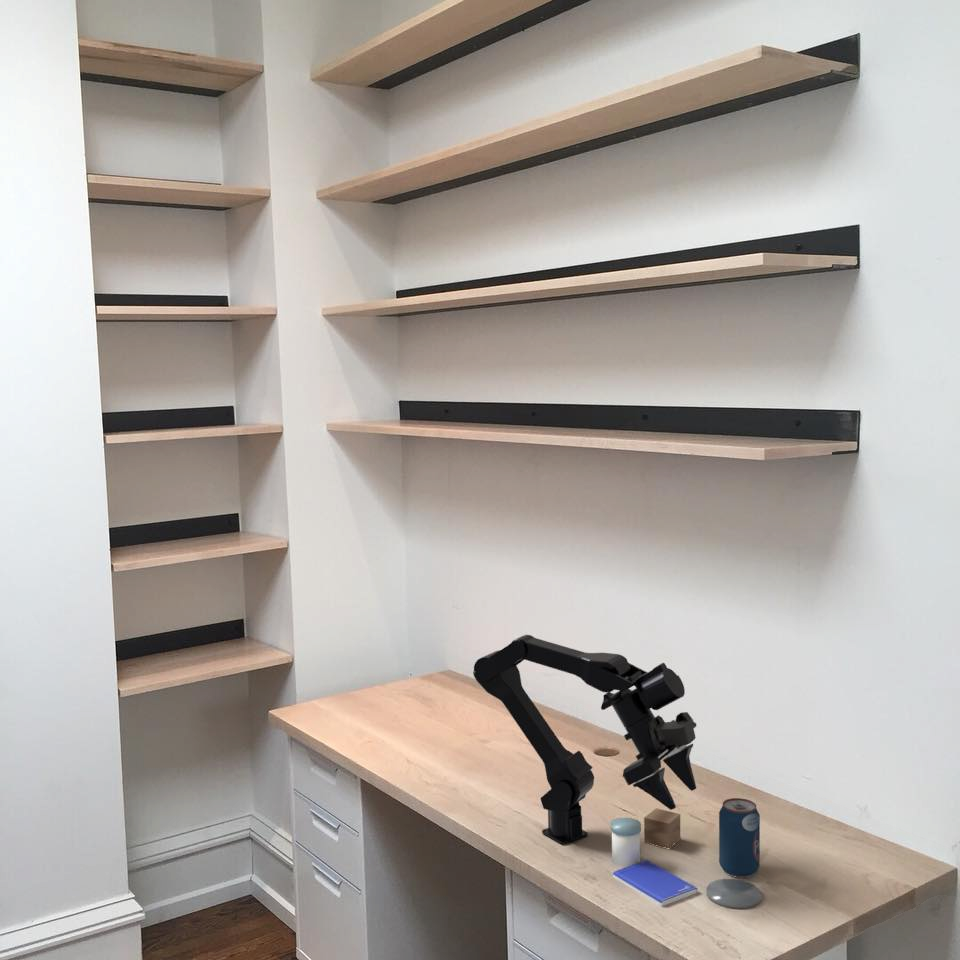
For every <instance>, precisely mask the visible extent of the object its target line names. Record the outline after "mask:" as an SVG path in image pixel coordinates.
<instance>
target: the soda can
mask: <svg viewBox="0 0 960 960" xmlns="http://www.w3.org/2000/svg"><path fill="white" fill-rule="evenodd" d="M760 818H761V815H760V812H759V811H758V809H757V804H756V803H755V802H754V801H752V800H749V799H745V798H739V797H738V798H737V797H733V798H727V799H725V800H724V801H723V802H722V806H721V808H720V810H719V813H718V863H719V865H720V867H721V869H722V871H723V873H725V874H726V873H727V875H728V874H729V875H728V876H730V875H731V876H730V877H733V876H736V877H735V878H738V877H746V878H748V877H747V876H751V877H752V875H753V874H754V875H755V874H756V873H757V871H758V870H759V868H760V865H761V864H760V863H761V862H760V861H761V860H760V857H761V856H760V853H761V851H760V841H761V838H760V837H761V836H760V835H761V832H760V830H761V829H760V828H761V825H760V824H761V823H760V821H761V820H760ZM754 875H753V876H754Z"/></svg>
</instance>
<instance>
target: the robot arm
mask: <svg viewBox="0 0 960 960" xmlns="http://www.w3.org/2000/svg"><path fill="white" fill-rule="evenodd" d="M524 660H525V661H528V662H531V663H534V664H537V665H541V666H544V667H547V668H551V669H554V670H558V671H560V672H564V673H566V674H567V673H568V674H570V675H574V676H576V677H577V678H579V679H581V680H582V681H583V682H584V683H585V684H586V685H587V686H590V687H591V688H594V689H596V690H597V691H599V692H602V693H604V694H603V696H602V697H603V700H602V703H601V706H600V709H601V710H602V711H604V710H606V709H608V708H610V707H612V708H613V710H614V712H615V713H616V716H617V717H618V718H619V720H620V722H621V724H622V725H623V726H622V727H623V728H624V729H625V730H626V734H624V735H623V737H624V738H625V740H626V741H628V740H631V741H632V743H633V744H634V747H635V748H636V750H637V752H638V754H637V755H635V758H636V759H637V760H634V761H633V762H631V763H630V764H629V765H628V766H626V767H625V768H624V769H623V772H622V777H623V779H624V780H625V783H626V784H627V786H631V785H632V786H633V788H638V789H639V790H641V791H643V792H644V793H646V794H649V796H651V797H652V798H654V799H655V800H656V801H658V802H660V803H661V804H662V805H663V806H665V807H666V808H667V809H669V810H670V811H671V810H674V809H676V807H677V805H676V803H675V801H674V798H673V796H672V794H671V791H670V790H669V787H668V786H667V784H666V781H665V778H664V775H665V770H666V769H665V768H666V767H662V762H661V761H663V762H664V764H665V765H666V766H667V767H668V768H669V769H670V770H671V771H672V772H673V773H674V775H675V776H677V778H678V779H679V780H680V781H681V782H682V783H683V784H684V785H685V787H686V788H687V789H689V790H690V791H691V792H692V791H694V790H697V785H696V784H697V783H696V781H695V777H694V773H693V768H692V765H691V760H690V755H691V751H692V749H693V747H694V743H692V742H694V741H695V739H696V738H697V737H696V733H695V730H694V729H695V728H696V727H697V722H695V721H694V719H693V717H691V715H690V714H689V712H688V711H683V712H680V713H678V714H677V715H676V716H675V719H672V720H670V721H666V722H665V720H664V718H663V717H662V716H660V715H659V714H658V715H656V716H655V715H654V713H653V711H652V710H654V711H659V710H661V709H663V708H665V707H667V706H668V705H670V704H672V703H674V702H676V701H677V700H679V699H681V698H683V697H685V696H684V695H685V693H686V691H685V685H684V683H683V681H682V679H681V677H680V675H678V674H677V673H676V672H675V671H674V670H673V669H671V668H669V667H667V664H666V663H665V662H662V663H659V664H658V665H657V666H655V667H654V668H653V669H652V670H649V671H646V670H643V669H641V668H640V667H637V666H636V665H634V664H631V663H630V662H628V659H627V658H626V656H624V655H622V654H619V653H610V652H585V651H581V650H577V649H574V648H570V647H567V646H564V645H560V644H557V643H554V642H551V641H547V640H543V639H541V638H537V637H535V636H533V635H530V634H524V635H521V636H520V637H518V638H515V639H513V640H512V641H511V642H510V643H509V644H508V645H506V646H505V647H504V648H502V649H499V650H496V651H493V652H491V653H488V654H487V655H484V656H482V657H480V658H479V659H477V660H476V661H475V662H474V665H473V672H472V674H473V677H474V679H475V681H476V682H477V683H478V685H480V686H481V687H482V688H483V690H484V691H485V692H486V693H488V694H489V695H491V696H492V697H494V698H496V699H497V700H499V701H500V702H501V703H502V704H503V705H504V708H505V709H506V711H508V713H509V714H510V716H511V718H512V719H513V721H514V722H515V723H516V725H517V726H518V727H519V729H520V730H521V732H522V733H523V735H524V736H525V738H526V739H527V740H528V742H529V743H530V745H531V746H532V748H533V749H534V751H535V752H536V753H537V755H538V756H539V758H540V760H541V762H543V764H544V771H545V775H546V780H547V783H548V785H549V786H550V789H549V790H547V792H546V793H545V794H543V795H542V796H541V797H540V801H541V805H542V808H543V809H544V810H547V821H548V822H547V826H548V827H547V828H544V829H542V830H541V833H542V835H545V836H546V837H548V838H550V839H552V840H553V841H555V842H558V843H559V844H561V845H565V844H568V843H571V842H574V841H576V840H580V839H583V838H585V837H588V835H589V833H588V832H587V831H585V830H584V829H583V815H582V805H580V802H581V800H583V799H585V798H586V796H587V794H588V793H589V792H590V791H591V790H592V788H593V787H594V784H595V783H594V781H595V775H594V773H593V771H592V769H593V766H592V765H591V764H590V763H588V761H587V760H586V758H585V757H584V754H583V753H582V751H580V750H577V751H576V752H574V753H573V752H571V751H570V750H569V749H566V748H565V747H564V745H563V744H562V742H561V741H560V739H559V738H558V737H557V735H556V733H555V732H554V730H553V729H552V728H551V727H550V725H549V724H548V722H547V721H546V719H545V718H544V716H543V714H542V713H541V712H540V710H539V709H538V708H537V706H536V705H535V703H534V702H533V701H532V699H531V697H530V696H529V695H528V693H527V692H526V690H525V689H524V687H523V685H522V679H521V673H520V670H519V668H518V665H519V664H521V663H522V662H524ZM632 687H635V688H634V689H631V688H632ZM614 691H617V692H615V693H613V692H614ZM651 709H652V710H651Z"/></svg>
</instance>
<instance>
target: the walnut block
mask: <svg viewBox="0 0 960 960" xmlns="http://www.w3.org/2000/svg"><path fill="white" fill-rule="evenodd" d="M643 818H644V819H643V820H644V821H643V823H644V824H643V827H644V828H643V831H644V833H643V835H644V837H643V839H644V842H647V843H651V844H654V845H653V846H655V845H658V846H661V847H660V848H662V847H666V848H670V847H671V846H672V845H673V844H674V843H676V842H677V841H678V840H679V839H680V840H681V813H677V812H673V811H671V810H670V811H669V810H666V809H665V810H664V809H661V808H657V807H656V808H654V809H653V810H652V811H651V812H649V813H648V814H647V815H646V816H644V817H643ZM680 840H679V841H680ZM679 841H678V842H679ZM644 842H643V843H644ZM678 842H677V843H678ZM647 843H646V844H647ZM677 843H676V844H677ZM651 844H650V845H651ZM674 845H675V844H674ZM674 845H673V846H674ZM658 846H657V847H658ZM673 846H672V847H673ZM672 847H671V848H672ZM666 848H665V849H666ZM671 848H670V849H671Z"/></svg>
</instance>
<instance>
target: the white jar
mask: <svg viewBox="0 0 960 960" xmlns="http://www.w3.org/2000/svg"><path fill="white" fill-rule="evenodd" d="M610 830H611V860H612V861H611V862H612V864H613V865H615V866H617V867H619V866H621V867H620V868H624V867H629V866H632V865H634V864H637V863H640V862H641V832H642V823H641V821H639V820H638V819H635V818H632V817H617V818H614V819H612V820H611V821H610Z"/></svg>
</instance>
